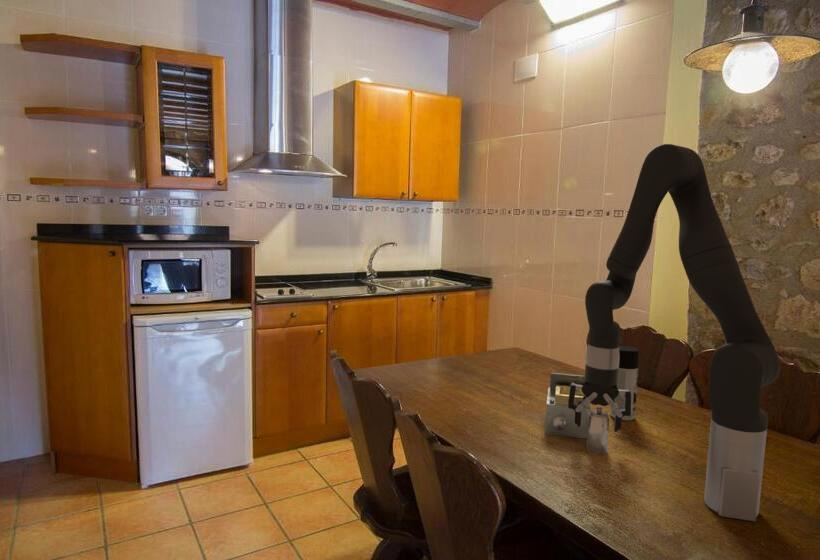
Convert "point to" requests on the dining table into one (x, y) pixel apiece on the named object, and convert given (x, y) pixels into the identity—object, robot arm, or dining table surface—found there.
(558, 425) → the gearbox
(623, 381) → the spray can
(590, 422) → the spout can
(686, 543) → the dining table surface
